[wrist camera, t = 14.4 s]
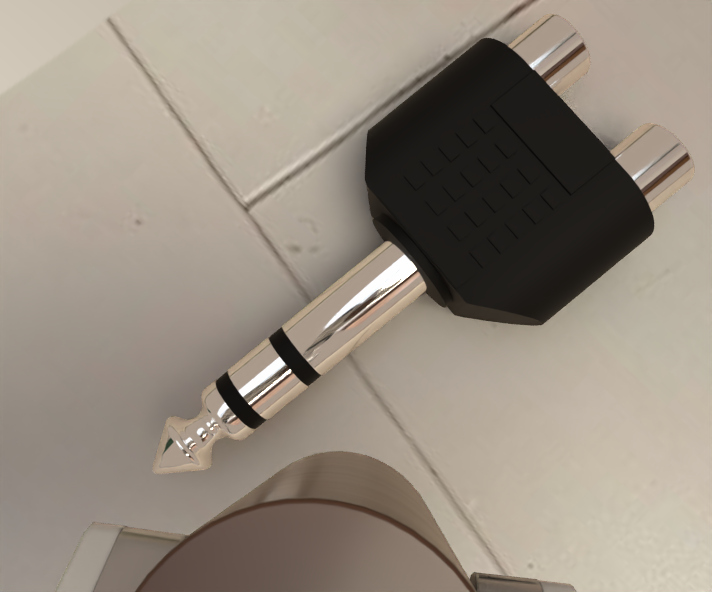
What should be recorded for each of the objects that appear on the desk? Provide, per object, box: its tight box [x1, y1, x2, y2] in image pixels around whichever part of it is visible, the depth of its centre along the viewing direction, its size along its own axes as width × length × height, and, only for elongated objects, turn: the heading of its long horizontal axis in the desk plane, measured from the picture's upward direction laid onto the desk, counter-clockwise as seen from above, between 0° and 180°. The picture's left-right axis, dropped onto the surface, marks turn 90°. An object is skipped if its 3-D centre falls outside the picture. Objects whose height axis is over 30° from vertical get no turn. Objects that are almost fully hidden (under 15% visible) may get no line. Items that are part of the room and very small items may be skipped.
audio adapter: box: [152, 14, 695, 474], centre depth 29 cm, size 11×5×25 cm
